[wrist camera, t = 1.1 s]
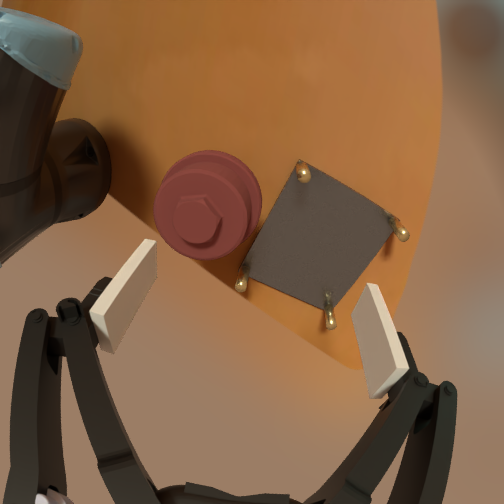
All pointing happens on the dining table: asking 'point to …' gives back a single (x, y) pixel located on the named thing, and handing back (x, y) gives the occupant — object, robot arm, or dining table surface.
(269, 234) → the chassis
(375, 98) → the dining table surface
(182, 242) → the mechanical component
